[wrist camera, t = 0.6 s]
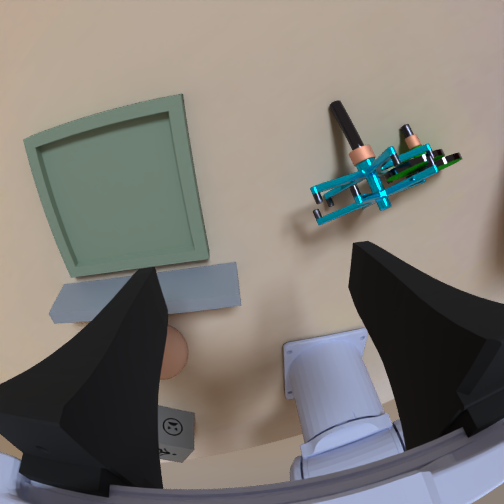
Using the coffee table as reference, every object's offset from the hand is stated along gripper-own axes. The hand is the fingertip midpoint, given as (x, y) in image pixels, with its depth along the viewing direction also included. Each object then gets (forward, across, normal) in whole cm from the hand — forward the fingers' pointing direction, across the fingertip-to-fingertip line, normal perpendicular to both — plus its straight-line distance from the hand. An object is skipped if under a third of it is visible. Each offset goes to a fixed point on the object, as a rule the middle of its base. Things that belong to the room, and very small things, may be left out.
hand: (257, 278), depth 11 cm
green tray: (+10, +8, -1) cm, 12 cm away
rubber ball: (+8, +8, +12) cm, 16 cm away
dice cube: (+10, +12, +27) cm, 31 cm away
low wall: (+10, +8, +6) cm, 14 cm away
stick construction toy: (+10, -9, -2) cm, 14 cm away
